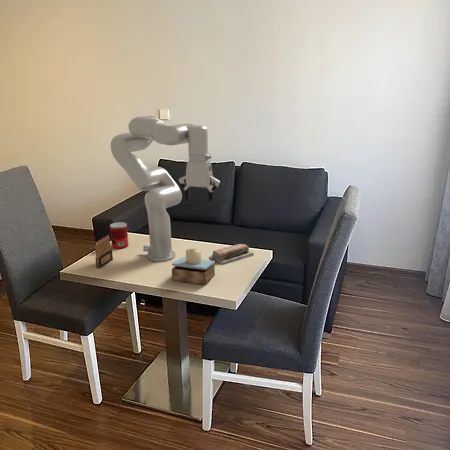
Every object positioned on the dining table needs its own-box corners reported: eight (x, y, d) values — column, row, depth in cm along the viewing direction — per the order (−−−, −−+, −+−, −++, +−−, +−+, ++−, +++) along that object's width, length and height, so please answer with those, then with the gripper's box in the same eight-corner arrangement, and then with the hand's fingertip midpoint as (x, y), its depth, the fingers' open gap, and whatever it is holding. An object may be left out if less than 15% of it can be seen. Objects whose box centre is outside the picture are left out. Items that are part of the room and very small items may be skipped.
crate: (172, 280, 190) (171, 269, 189) (182, 271, 199) (182, 259, 198) (205, 285, 186) (205, 273, 184) (214, 275, 195) (214, 264, 193)
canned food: (131, 244, 230) (129, 223, 227) (121, 250, 223) (119, 228, 220) (118, 242, 233) (116, 221, 230) (108, 248, 226) (106, 226, 223)
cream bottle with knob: (183, 263, 189) (183, 250, 188) (189, 259, 194) (189, 247, 193) (197, 265, 187) (197, 252, 186) (203, 261, 192) (203, 248, 191)
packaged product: (222, 255, 204) (208, 249, 211) (222, 266, 205) (209, 259, 213) (254, 246, 214) (240, 240, 221) (254, 256, 215) (240, 249, 223)
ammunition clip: (109, 259, 213) (107, 233, 209) (113, 259, 213) (110, 234, 209) (96, 268, 203) (93, 241, 200) (99, 268, 203) (97, 242, 199)
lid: (171, 265, 189) (171, 263, 188) (182, 259, 198) (182, 257, 198) (205, 269, 184) (205, 267, 184) (214, 263, 193) (214, 261, 193)
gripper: (222, 157, 186) (223, 199, 192) (182, 155, 192) (183, 196, 197) (215, 160, 180) (216, 204, 185) (174, 158, 185) (176, 201, 191)
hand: (199, 200), depth 191 cm, fingers open, 9 cm apart
